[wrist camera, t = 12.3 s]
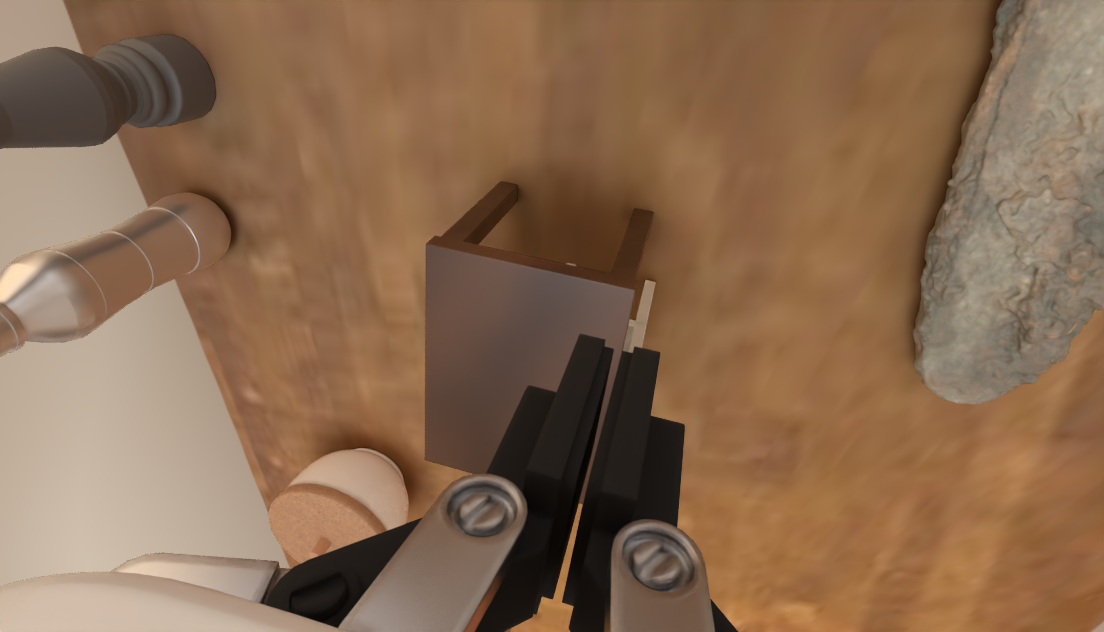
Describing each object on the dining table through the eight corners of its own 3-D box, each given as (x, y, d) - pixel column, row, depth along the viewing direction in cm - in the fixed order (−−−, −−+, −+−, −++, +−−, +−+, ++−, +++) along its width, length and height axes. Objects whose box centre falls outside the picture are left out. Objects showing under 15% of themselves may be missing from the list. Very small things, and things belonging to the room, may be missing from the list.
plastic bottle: (250, 214, 51) (17, 330, 34) (232, 269, 54) (14, 399, 38) (184, 170, 50) (-85, 267, 33) (171, 229, 54) (-78, 343, 37)
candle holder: (220, 59, 44) (-226, 134, 23) (211, 132, 48) (-188, 255, 27) (147, 18, 44) (-370, 56, 23) (142, 94, 48) (-313, 187, 27)
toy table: (657, 209, 42) (635, 290, 31) (616, 394, 51) (588, 506, 40) (497, 178, 44) (425, 243, 33) (484, 361, 53) (424, 460, 42)
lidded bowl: (371, 411, 59) (306, 491, 50) (450, 496, 63) (403, 585, 53) (299, 451, 65) (230, 529, 56) (375, 526, 69) (321, 612, 59)
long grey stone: (1313, -269, 26) (1044, -237, 28) (1432, -331, 21) (1099, -286, 24) (1035, 397, 41) (878, 377, 44) (1070, 443, 37) (893, 418, 39)
